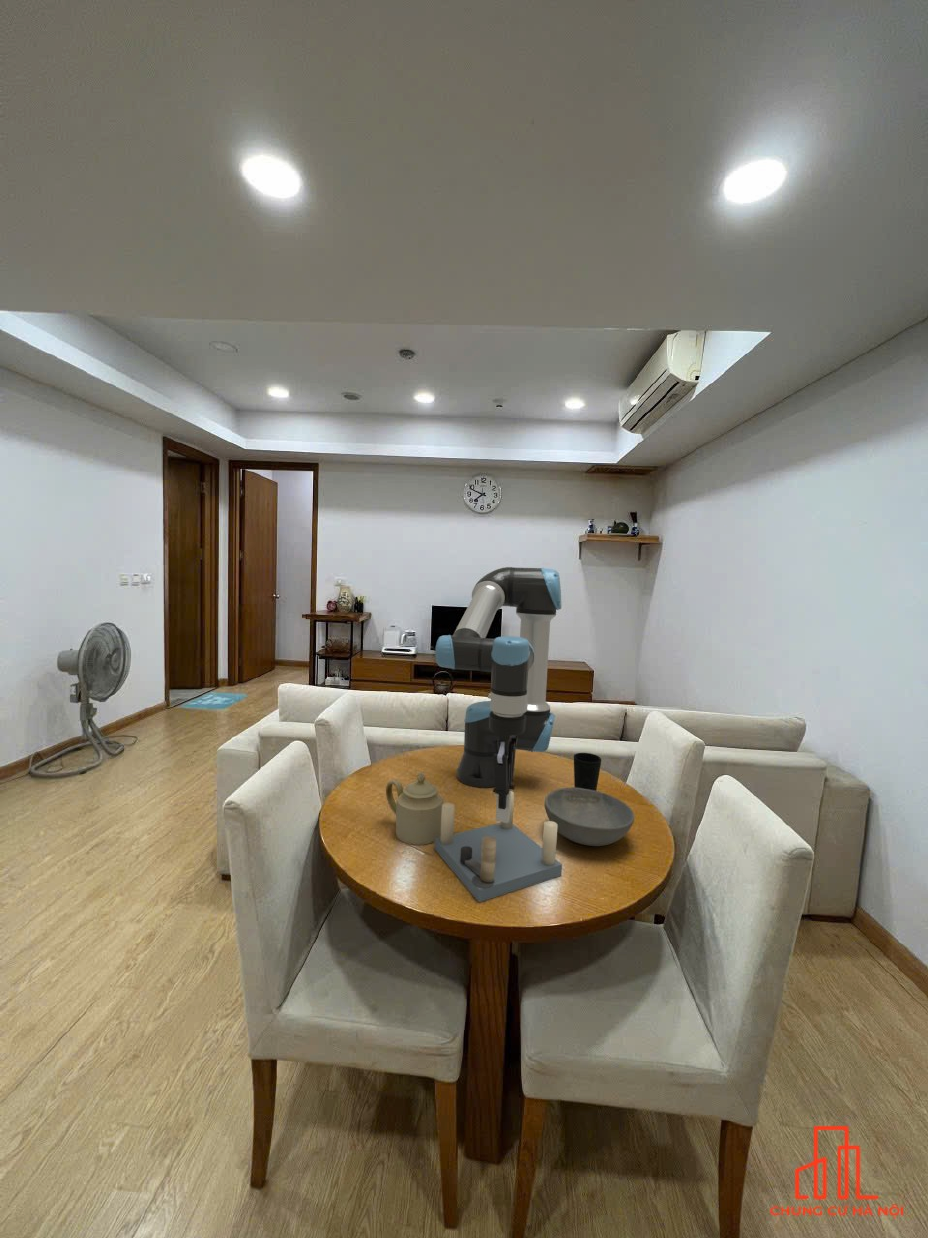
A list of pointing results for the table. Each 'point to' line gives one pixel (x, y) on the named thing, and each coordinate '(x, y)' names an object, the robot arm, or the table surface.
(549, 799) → the bowl
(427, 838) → the teapot
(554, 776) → the table surface
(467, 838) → the stool seat
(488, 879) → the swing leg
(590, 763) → the cup
